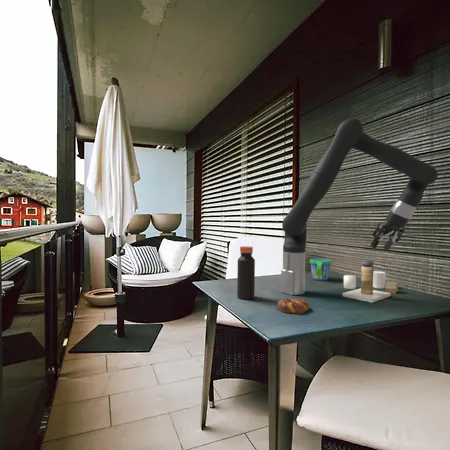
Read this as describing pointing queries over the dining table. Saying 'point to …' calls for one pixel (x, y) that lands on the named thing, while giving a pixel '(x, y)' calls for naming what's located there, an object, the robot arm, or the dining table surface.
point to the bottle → (246, 274)
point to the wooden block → (391, 287)
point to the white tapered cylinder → (379, 279)
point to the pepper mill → (367, 277)
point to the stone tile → (364, 297)
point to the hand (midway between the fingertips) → (379, 248)
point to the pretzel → (293, 305)
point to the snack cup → (320, 269)
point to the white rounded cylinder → (349, 281)
